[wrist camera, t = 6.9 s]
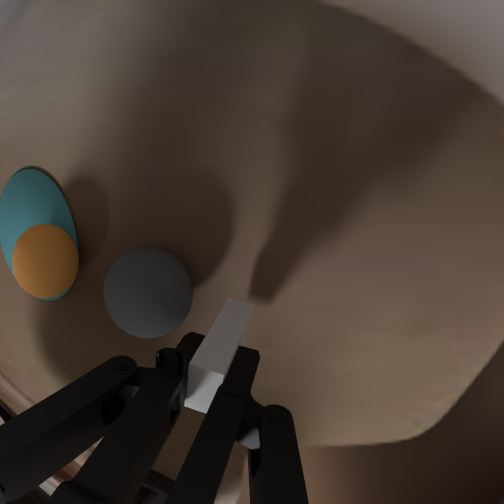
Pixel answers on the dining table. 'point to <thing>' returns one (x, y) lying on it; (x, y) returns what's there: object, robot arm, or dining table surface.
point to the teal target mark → (32, 210)
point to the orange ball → (45, 261)
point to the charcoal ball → (147, 292)
